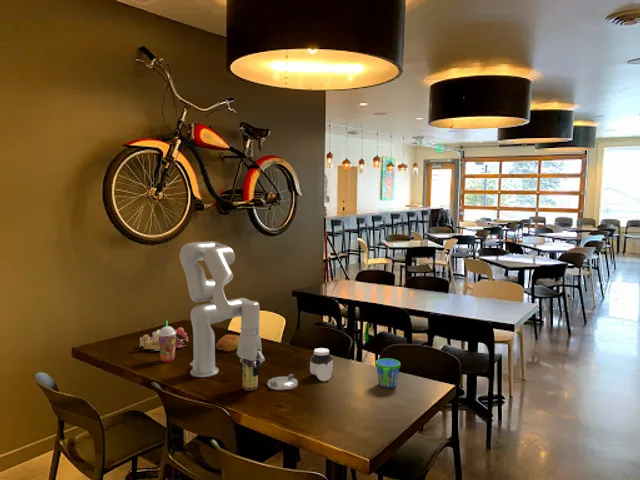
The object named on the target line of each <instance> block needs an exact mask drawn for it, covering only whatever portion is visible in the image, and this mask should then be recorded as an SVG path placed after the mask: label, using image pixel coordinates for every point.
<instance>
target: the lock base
mask: <svg viewBox="0 0 640 480" xmlns="http://www.w3.org/2000/svg"><path fill="white" fill-rule="evenodd" d="M298 384H299V382H298V379H296V378H295V374H293V373H290V374H288V375H287V376H276V377H272V378H270V379H267V382H266V385H267V387H268V388H269V389H271V390H273V391H289V390H293V389H295V388H297V387H298Z"/></svg>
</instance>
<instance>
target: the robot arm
mask: <svg viewBox="0 0 640 480" xmlns="http://www.w3.org/2000/svg"><path fill="white" fill-rule="evenodd" d="M179 260H180V265H181V266H182V269H183V271H184V274H185V277H186V283H187V289H188V294H189V298H190V299H191V300H192V301H193V302H194V303H200V302H206V301H209V302H207V303H203V304H198V305H196V306H194V307H193V308H192V309H191V311H190V322H191V325H192V339H193V341H192V348H193V351H192V352H193V360H192V361H191V362H189V365H190V366H192V369H191V370H190V372H189V373H190V375H191V377H196V378H206V377H207V378H208V377H212V376H215V375H217V374H219V368H218V367H217V366H216V344H215V343H216V342H215V341H216V339H215V338H216V336H215V332H214V329H213V328H212V326H211V325H213V324H217V323H221V322H224V321H225V320H228V319H229V320H230V319H235V318H238V317H240V328H239V329H240V334H239V335H238V336H239V341H238V350H237V351H235V352H236V353H235V354H236V355H237V356H238V359H239V363H240V373H242V374H243V359H247V360H250V361H253V364H254V367H253V376H254V377H255V376H257V375H258V376H259V375H260V371H261V370H260V369H261V368H260V366H261V365H262V364H263V362H265V360H266V358H265V357H264V354H263V352H262V351H263V348H262V346H263V345H262V338H261V335H260V303H259V302H258V301H255V300H250V299H248V298H245V297H240V298H233V299H227V297H226V295H225V290H224V287H225V286H226V285H228V284H229V283H230V282H231V281H232V280H233V279H234V274H233V272H232V270H231V267H230V265H232V264H233V263H234V262H235V261H236V254H235V252H234V250H233V248H232V247H230V246H228V245H225V244H223V243H220V242H217V241H209V240H208V241H196V242H189V243H186V244H183V246H182V247H181V249H180V252H179ZM198 261H204V264H205V265H206V267H207V269H208V272H209V274H210V275H211V278H212V279H207V277H206V273H205V269H204V268H203V267H202V265H201V264H200V263H199V262H198ZM256 360H257V363H256Z"/></svg>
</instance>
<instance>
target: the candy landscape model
mask: <svg viewBox="0 0 640 480" xmlns="http://www.w3.org/2000/svg"><path fill="white" fill-rule="evenodd" d="M160 330H161V329H157V330H156V331H153V332H152V333H151V334H152V336H150V335H149V334H144V335H143V336H140V338H139V341H140V342H139V347H141V346H143V347H144V348H145V349H153V350H154V351H160V348H159V336H158V333H159V332H160ZM174 330H175V332H176V335H180V336H181V337H182V338H184V339H181V340H180V338H178V337H177V336H176V341H175V350H177V349H176V348H181V347H182V346H183V345H181V344H184V342H183V340H186V341H188V342H189V336H187V335H188V333H187V332H185V329H184V328H183V327H181V326H180V327H178V328H177V329H174ZM183 347H184V346H183ZM183 347H182V348H183ZM182 348H181V349H182Z"/></svg>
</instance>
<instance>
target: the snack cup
mask: <svg viewBox="0 0 640 480" xmlns="http://www.w3.org/2000/svg"><path fill="white" fill-rule="evenodd" d="M375 367H376V373H377V379H378V380H377V381H378V385H379V386H380V387H382V388H385V389H392V388H395V387H396V386H397V383H398V378H399V373H400V368H401V362H400V361H399V360H397V359H394V358H389V357H386V358H385V357H384V358H379V359H377V360H376V361H375Z"/></svg>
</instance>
